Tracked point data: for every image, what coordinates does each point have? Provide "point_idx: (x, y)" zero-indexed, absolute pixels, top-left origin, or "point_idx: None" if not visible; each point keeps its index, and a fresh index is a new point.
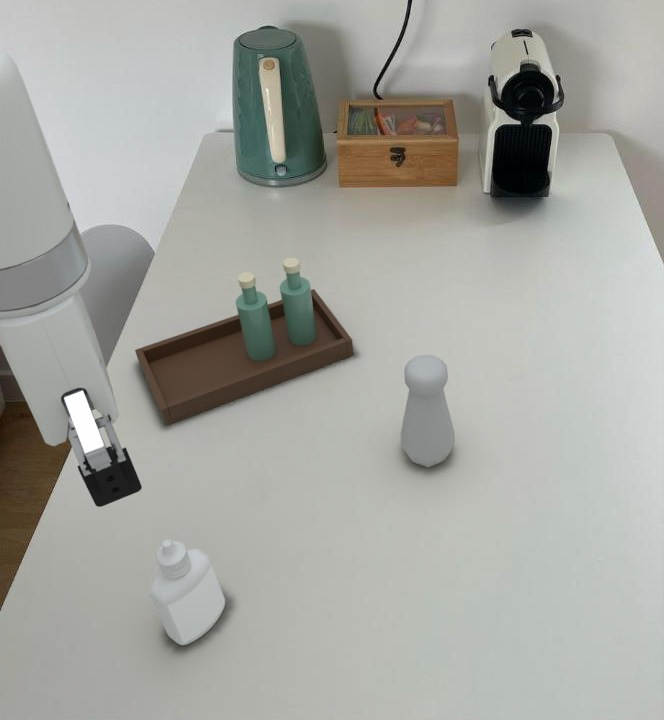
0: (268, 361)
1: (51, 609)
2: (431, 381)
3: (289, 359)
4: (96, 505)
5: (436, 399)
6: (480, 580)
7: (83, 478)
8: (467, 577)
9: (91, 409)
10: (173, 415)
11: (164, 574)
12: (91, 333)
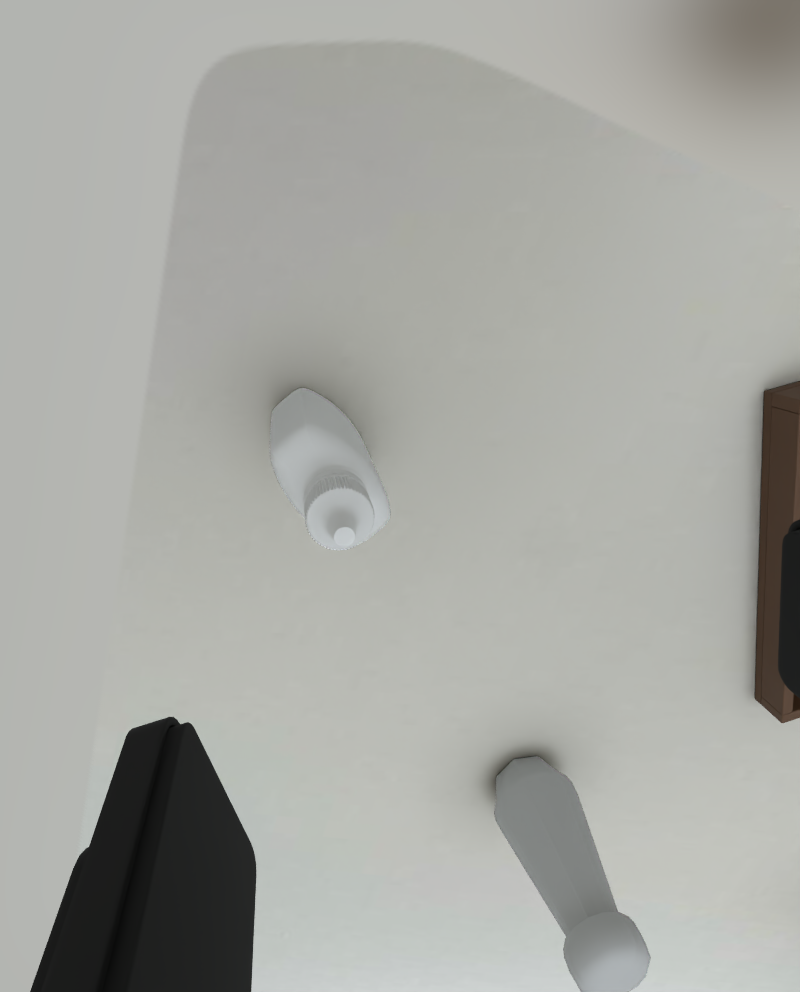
0: None
1: (419, 148)
2: (580, 979)
3: None
4: (131, 731)
5: (560, 924)
6: (288, 817)
7: (47, 984)
8: (297, 804)
9: (783, 621)
10: (778, 413)
11: (314, 479)
12: None
